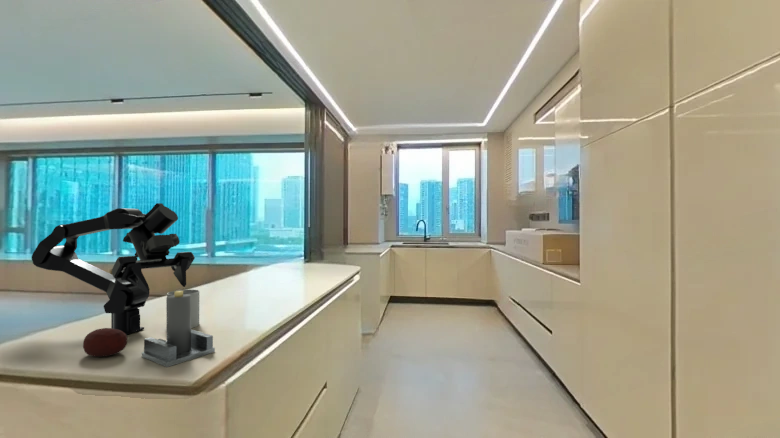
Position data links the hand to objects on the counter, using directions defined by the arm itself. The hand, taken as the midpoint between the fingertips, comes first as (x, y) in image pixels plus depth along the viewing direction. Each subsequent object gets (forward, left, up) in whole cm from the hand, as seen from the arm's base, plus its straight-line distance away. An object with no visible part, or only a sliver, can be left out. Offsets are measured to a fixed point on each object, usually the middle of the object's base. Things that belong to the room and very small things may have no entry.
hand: (167, 288), depth 97 cm
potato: (-6, -12, -14) cm, 19 cm away
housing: (+11, -8, -14) cm, 19 cm away
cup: (-6, +12, -14) cm, 20 cm away
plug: (+7, -6, -13) cm, 16 cm away
